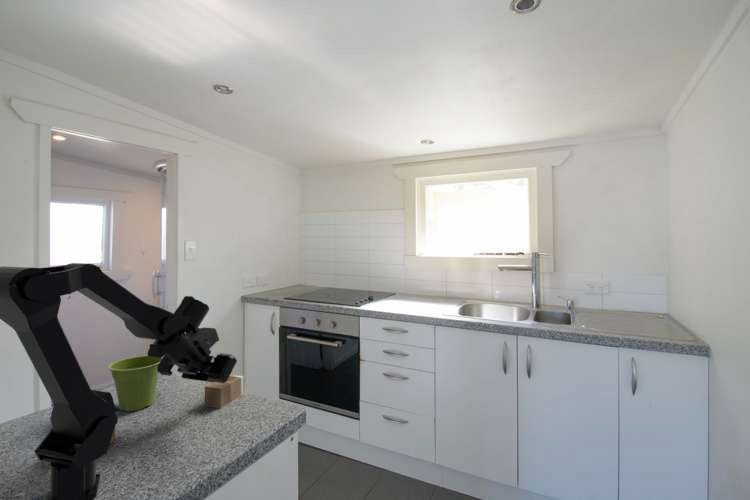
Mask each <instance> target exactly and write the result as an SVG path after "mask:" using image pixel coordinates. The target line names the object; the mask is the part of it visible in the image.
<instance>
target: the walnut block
mask: <svg viewBox="0 0 750 500" xmlns="http://www.w3.org/2000/svg"><path fill="white" fill-rule="evenodd" d="M242 395H244V375H236V374H230V376H229V378H228V380H227V381H226V382H225V383H219V382H214V383H213V382H210V383H209V384H207V385H205V386H204V406H205V407H210V408H216V409H222V408H224V407H226V406H227V405H229V404H230V403H232V402H233V401H235V400H236V399H238V398H240V397H241V396H242Z"/></svg>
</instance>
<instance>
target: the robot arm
mask: <svg viewBox="0 0 750 500" xmlns="http://www.w3.org/2000/svg"><path fill="white" fill-rule="evenodd" d="M75 292H79V293H80V294H81V295H83V296H85V297H86V298H88V299H90V300H92V301H93V302H94V303H95V304H98V305H99V306H101V307H102V308H104V309H105V310H107V311H109V312H111V313H112V314H113V315H115V316H117V317H118V318H120V319H121V320H122V321H123V322H124V325H125V328H126V329H127V330H128V331H129V332H130V333H131V334H132V335H133V336H134V337H135V338H139V339H147V340H154V341H153V342H152V343H150V344H149V345H148V346H149V349H148V351H147V355H148V356H150V357H159V358H162V357H163V358H162V360H161V361H160V363H159V364H158V367H157V371H158V372H159V375H162V376H168V377H169V376H172V374H173V372H172V369H173V368H174V366H176V367H177V370H176V371H177V373H181V374H182V375H181V379H184V380H185V379H186V380H187V379H188V380H193V381H201V382H206V383H214V382H219V383H225V382H226V381H227V380H228V378H229V376H230V375H232V374H231V373H232V372H233V370H234V367H235V366H236V364H237V362H238V360H237V357H235V356H234V354H231V353H229V354H228V353H219V354H216V356H215V357H214V355H211V353H212V351H211V350H210V349H212V347H214V345H215V344H216V343H218V342H219V341H220V338H219V335H218V332H217V329H216V328H213V327H200V325H201V324H202V322H203V321H204V319H205V318H206V316H207V314H208V313H209V311H210V307H209V305H208V304H206V303H204V302H203V301H201V300H199V299H196V298H195V297H194V296H191V295H185V296H184V297H183V298H182V300H181V302H180V304H179V306H178V307H177V308H176V309H175V311H174V312H172V311H170V310H167V309H165V308H162V307H159V306H156V305H152V304H149V303H147V302H145V301H143V300H142V299H140V298H139V297H138V296H136V295H135V294H134V293H132V292H131V291H130V290H129V289H126V288H125V287H124V286H122V285H121V284H120V283H118V282H117V281H116V280H114V279H113V278H111V277H110V276H109V275H107V274H106V273H105V272H103V271H102V269H101V267H99V266H97V265H96V264H93V263H81V262H79V263H78V262H71V263H68V264H63V265H58V266H56V265H55V266H47V267H26V266H25V267H23V266H21V267H20V266H3V265H2V266H0V320H1V321H3V322H4V323H5V324H6V325H8V326H9V327H11V328H12V329H13V330H14V331H15V332H16V333H15V334H16V335H17V337H18V339H19V341H20V342H21V344H22V347H23V348H24V350H25V352H26V354H27V355H28V358H29V360H30V362H31V364H32V365H33V367H34V369H35V371H36V373H37V375H38V377H39V379H40V381H41V382H42V385H43V386H44V388H45V390H46V392H47V393H48V395H49V398H50V399H51V402H52V404H53V405H52V406H53V407H52V410H51V414H50V422H51V427H52V428H51V429H50V431H49V432H48V433H47V434H46V436H45V437H44V438H43V439H42V441H41V442H40V444H39V445H38V446H37V448H36V449H35V450H34V453H35V455H36V457H37V460H38V461H41V462H43V461H44V462H48V463H49V479H50V480H49V492H48V495H47V498H46V499H45V500H94V499H95V498H96V497H97V495H98V490H99V485H100V481H101V474H100V473H97V471H96V469H97V463H96V462H97V460H98V459H99V458H102V457H103V456H104V455H106V454H108V451H109V447H110V445H111V444H110V442H111V439H112V435H113V432H114V429H115V428H116V425H117V424H118V421H119V420H118V414H117V412H119V411H120V408H118V407H117V406H116V404H115V402H114V397H113V395H112V393H111V392H110V391H102V390H96V389H95V390H94V389H92V388H91V387H90V385H89V382H88V381H87V379H86V376H85V374H84V371H83V370H82V367H81V365H80V363H79V361H78V358H77V356H76V355H75V353H74V350H73V349H72V346H71V344H70V342H69V340H68V337H67V335H66V333H65V331H64V328H63V327H62V325H61V322H60V320H59V317H58V315H59V312H60V311H59V310H60V307H61V303H62V298H61V296H66V295H70V294H73V293H75ZM115 430H116V429H115ZM96 473H97V474H96Z"/></svg>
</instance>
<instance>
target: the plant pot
mask: <svg viewBox="0 0 750 500" xmlns="http://www.w3.org/2000/svg"><path fill="white" fill-rule="evenodd" d="M163 357H164V356H163ZM163 357H162V358H163ZM162 358H159V357H150V356H148V354H146V355H138V356H133V357H132V356H131V357H128V358H123V359H119V360H116V361H114V362H112V363H110V364H109V365H108V366H107V367H108V370H110V372H111V376H112V379H113V382H114V385H115V391H116V395H117V400H118V404H119V405H118V406H119V410H121V411H124V412H134V411H140V410H143V409H145V408H146V407H150V406H151V405H153V404H154V402H155V397H156V390H157V387H158V386H157V385H158V378H159V375H160V373H159V372H158V371H157V367H158V364H159V363H160V361H161V360H162Z"/></svg>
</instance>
